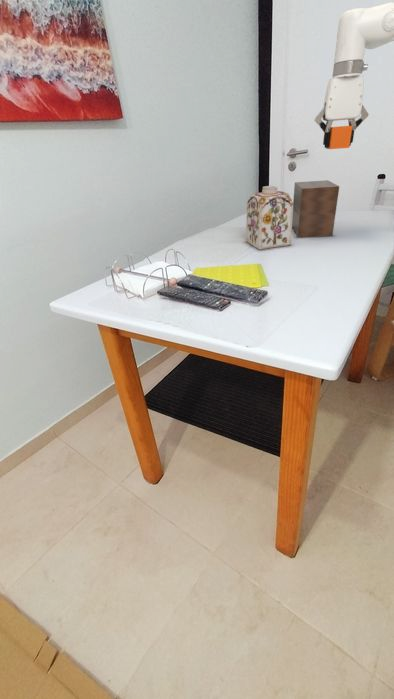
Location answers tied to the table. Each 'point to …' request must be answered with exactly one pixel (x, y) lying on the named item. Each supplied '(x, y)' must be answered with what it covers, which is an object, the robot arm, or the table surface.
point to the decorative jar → (269, 218)
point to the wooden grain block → (314, 208)
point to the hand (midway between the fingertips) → (337, 146)
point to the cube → (340, 137)
